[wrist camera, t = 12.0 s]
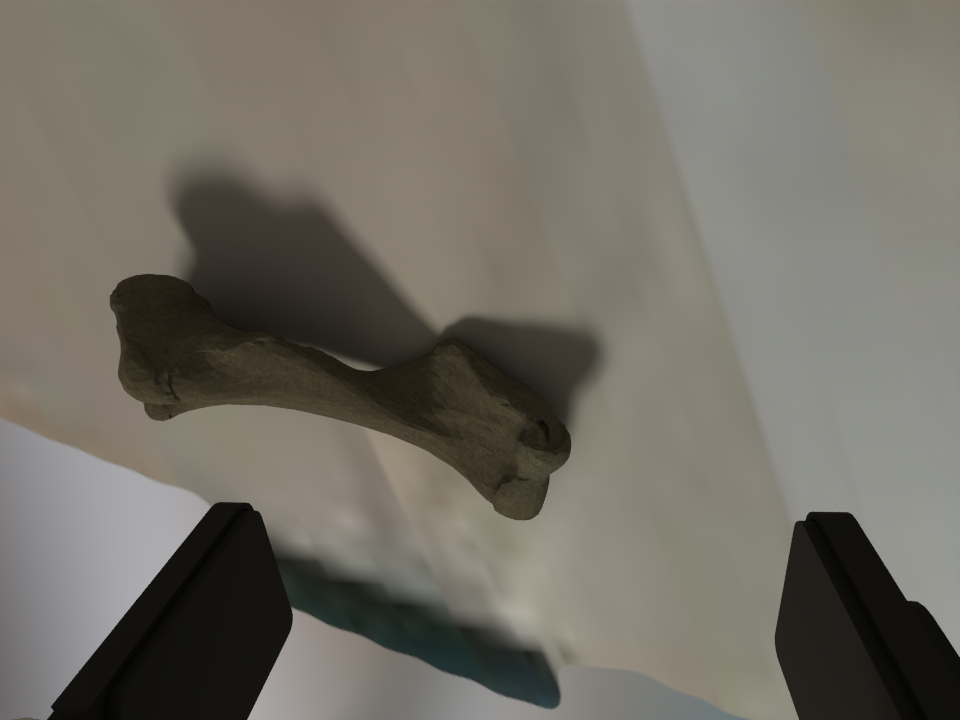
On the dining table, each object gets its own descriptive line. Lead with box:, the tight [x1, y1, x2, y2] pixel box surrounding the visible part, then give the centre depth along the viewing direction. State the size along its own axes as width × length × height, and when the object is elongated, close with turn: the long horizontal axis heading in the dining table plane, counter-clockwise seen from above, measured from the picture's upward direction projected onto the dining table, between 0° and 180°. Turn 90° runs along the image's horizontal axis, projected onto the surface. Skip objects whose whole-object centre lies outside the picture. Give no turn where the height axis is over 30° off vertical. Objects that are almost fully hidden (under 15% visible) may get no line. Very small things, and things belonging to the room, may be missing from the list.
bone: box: [110, 274, 571, 520], centre depth 39 cm, size 10×10×30 cm
